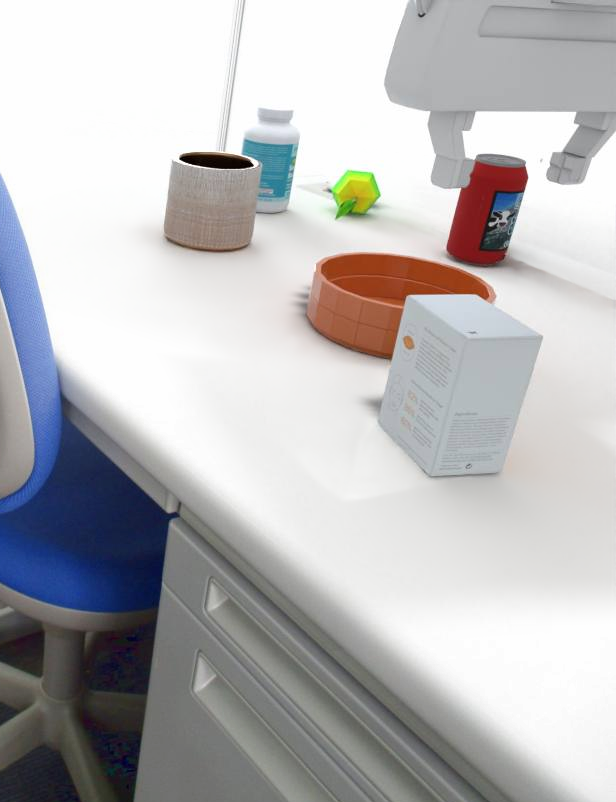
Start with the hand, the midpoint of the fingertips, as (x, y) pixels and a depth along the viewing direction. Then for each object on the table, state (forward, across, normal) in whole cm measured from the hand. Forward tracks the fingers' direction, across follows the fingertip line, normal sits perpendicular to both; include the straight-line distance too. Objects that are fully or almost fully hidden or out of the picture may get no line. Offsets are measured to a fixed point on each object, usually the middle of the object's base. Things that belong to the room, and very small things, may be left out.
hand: (507, 184), depth 55 cm
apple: (+19, +34, +56) cm, 68 cm away
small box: (+19, 0, 0) cm, 19 cm away
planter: (+20, +8, +50) cm, 54 cm away
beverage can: (+19, +37, +36) cm, 55 cm away
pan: (+19, +12, +20) cm, 30 cm away
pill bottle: (+19, +23, +62) cm, 69 cm away
